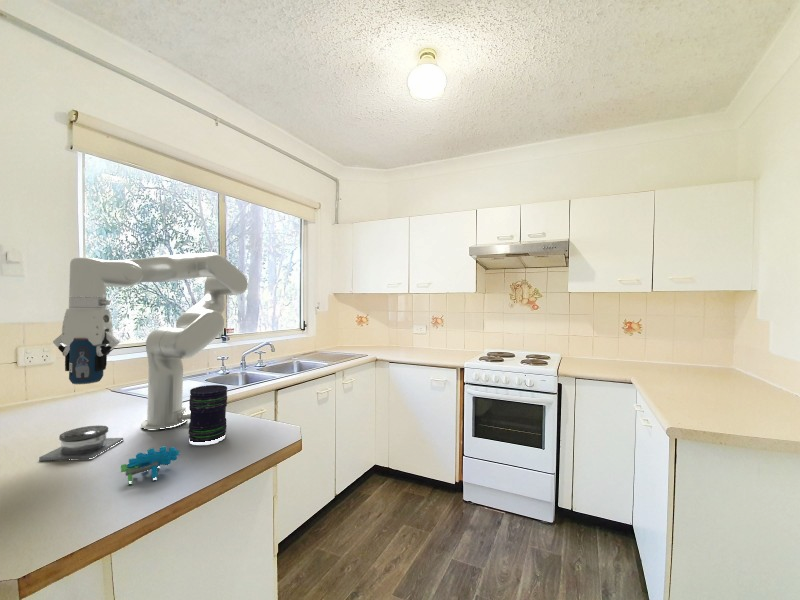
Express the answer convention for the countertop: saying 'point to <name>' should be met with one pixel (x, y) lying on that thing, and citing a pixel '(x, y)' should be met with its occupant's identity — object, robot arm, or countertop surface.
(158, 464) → the blue toy dinosaur
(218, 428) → the storage jar
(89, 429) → the puck on square plate
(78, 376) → the soda can
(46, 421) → the countertop surface
